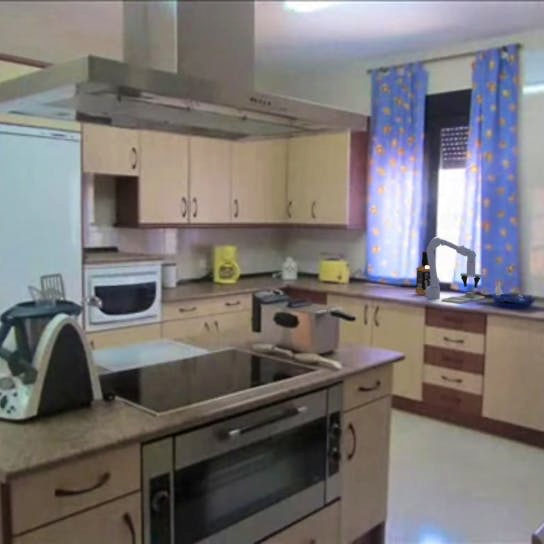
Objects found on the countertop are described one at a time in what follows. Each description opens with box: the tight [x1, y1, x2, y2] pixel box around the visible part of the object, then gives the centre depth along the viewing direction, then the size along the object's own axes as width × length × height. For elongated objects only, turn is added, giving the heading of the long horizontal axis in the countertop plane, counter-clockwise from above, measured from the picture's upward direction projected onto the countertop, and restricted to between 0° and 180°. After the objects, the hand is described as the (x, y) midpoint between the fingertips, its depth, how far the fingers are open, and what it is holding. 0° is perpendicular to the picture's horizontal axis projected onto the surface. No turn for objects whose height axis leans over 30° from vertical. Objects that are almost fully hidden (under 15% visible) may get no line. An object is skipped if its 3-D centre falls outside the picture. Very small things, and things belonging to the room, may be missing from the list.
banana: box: [494, 280, 523, 297], centre depth 409 cm, size 5×19×15 cm, turn 50°
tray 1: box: [441, 296, 471, 304], centre depth 413 cm, size 14×14×2 cm
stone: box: [465, 291, 476, 299], centre depth 420 cm, size 4×4×4 cm
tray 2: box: [457, 294, 485, 302], centre depth 421 cm, size 14×14×2 cm
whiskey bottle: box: [414, 251, 431, 296], centre depth 450 cm, size 10×10×32 cm
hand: (470, 287), depth 420 cm, fingers open, 7 cm apart
